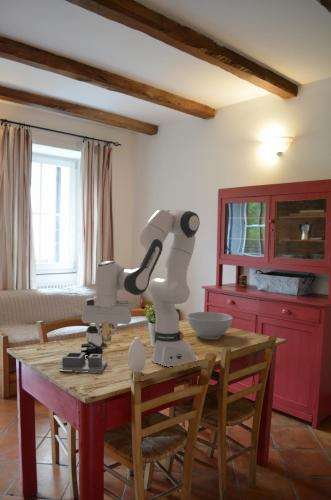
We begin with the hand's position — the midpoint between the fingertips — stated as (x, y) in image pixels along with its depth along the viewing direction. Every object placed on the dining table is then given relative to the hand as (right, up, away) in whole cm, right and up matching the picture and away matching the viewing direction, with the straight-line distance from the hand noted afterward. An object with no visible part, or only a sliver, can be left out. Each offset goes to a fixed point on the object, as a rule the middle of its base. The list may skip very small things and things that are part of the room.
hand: (106, 333), depth 160 cm
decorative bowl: (+50, -17, +70) cm, 88 cm away
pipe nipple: (0, -3, 0) cm, 3 cm away
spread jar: (-13, -17, +48) cm, 53 cm away
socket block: (-12, -18, +12) cm, 25 cm away
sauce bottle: (+12, -19, +7) cm, 23 cm away
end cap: (-11, -18, +26) cm, 33 cm away
